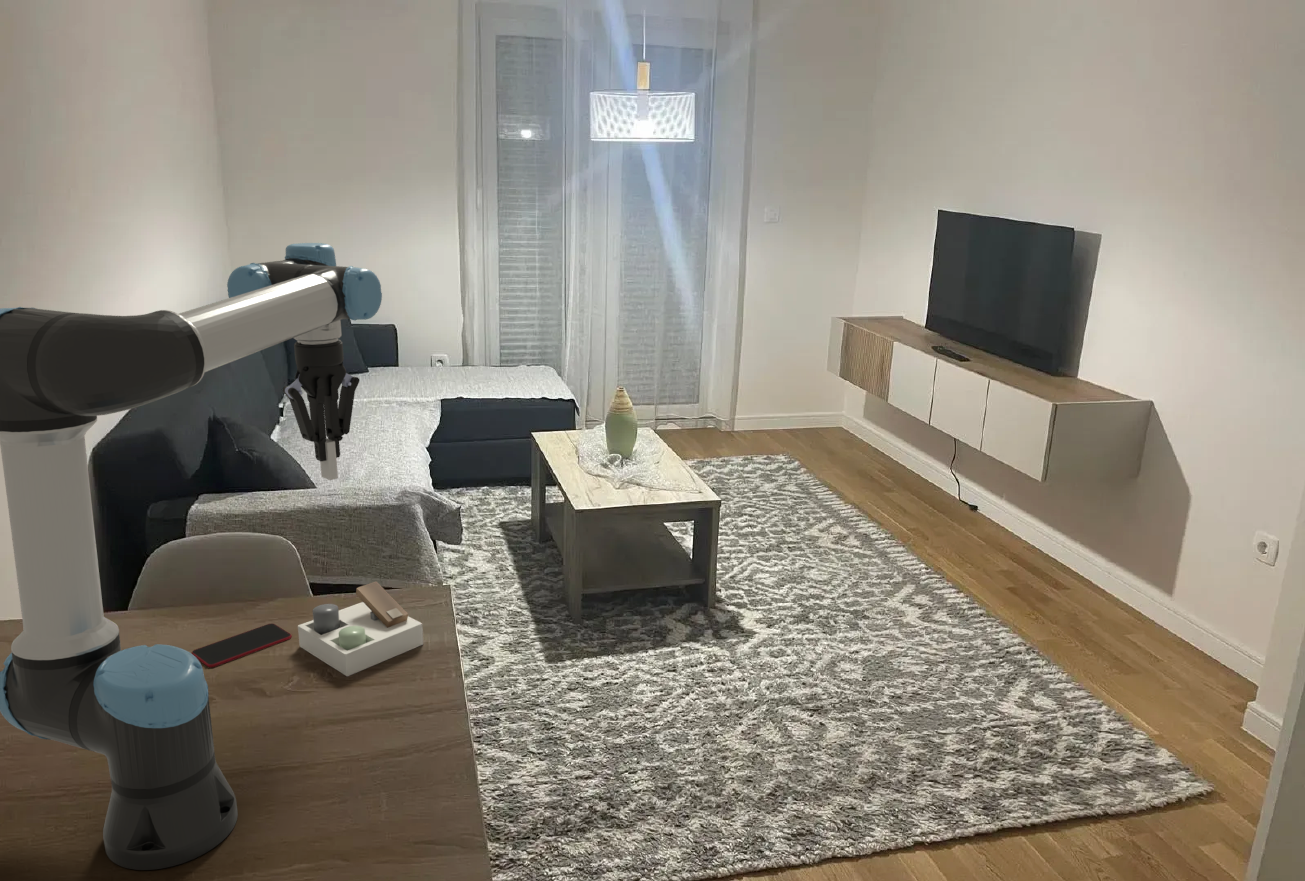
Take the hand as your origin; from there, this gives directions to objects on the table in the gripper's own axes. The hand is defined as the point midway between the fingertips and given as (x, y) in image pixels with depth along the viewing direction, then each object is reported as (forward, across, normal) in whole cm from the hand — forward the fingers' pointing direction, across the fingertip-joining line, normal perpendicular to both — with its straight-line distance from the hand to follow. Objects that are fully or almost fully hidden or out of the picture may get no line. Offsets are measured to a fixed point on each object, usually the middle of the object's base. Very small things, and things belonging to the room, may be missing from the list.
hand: (329, 477), depth 166 cm
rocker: (+23, +4, -6) cm, 24 cm away
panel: (+29, 0, -6) cm, 30 cm away
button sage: (+28, -4, -10) cm, 30 cm away
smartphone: (+30, -14, +9) cm, 34 cm away
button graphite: (+26, -4, -2) cm, 27 cm away
